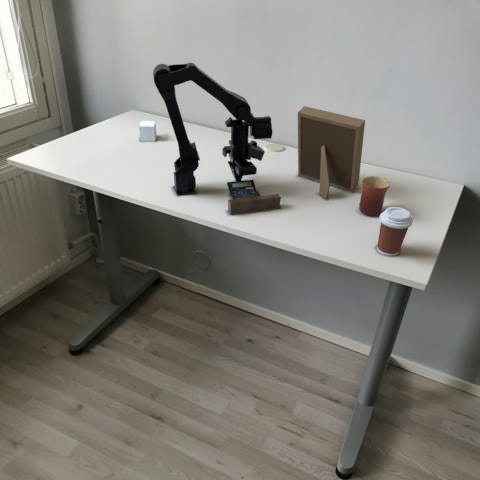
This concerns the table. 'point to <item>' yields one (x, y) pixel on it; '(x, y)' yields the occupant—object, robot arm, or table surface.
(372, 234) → the table surface
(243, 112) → the robot arm
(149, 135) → the white cube
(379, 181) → the mug
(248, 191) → the calculator
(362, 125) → the photo frame
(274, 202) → the rail
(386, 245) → the coffee cup
